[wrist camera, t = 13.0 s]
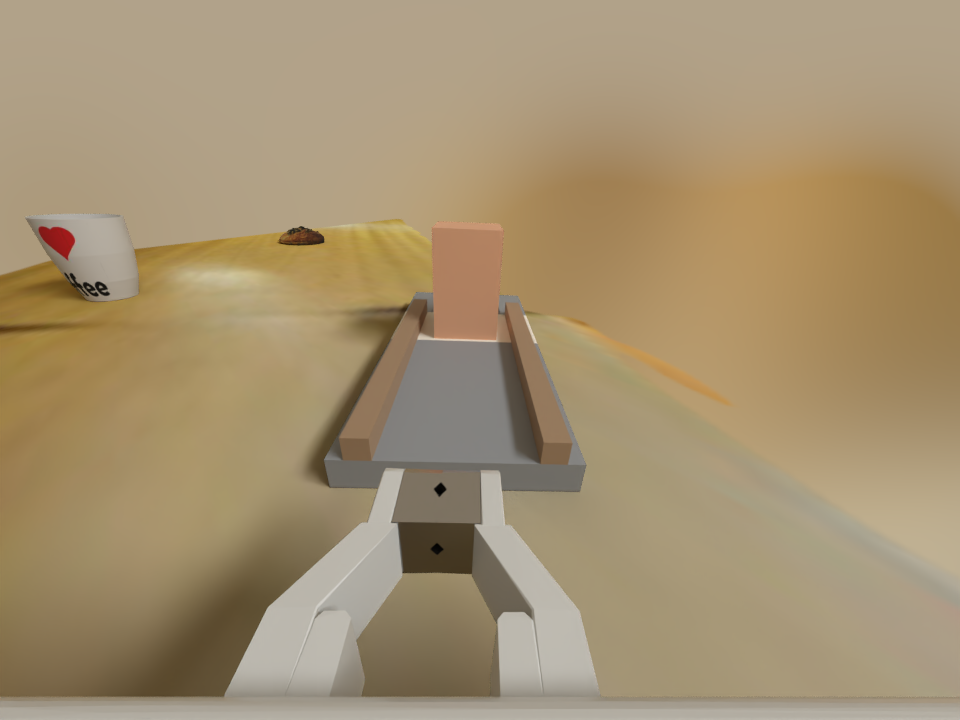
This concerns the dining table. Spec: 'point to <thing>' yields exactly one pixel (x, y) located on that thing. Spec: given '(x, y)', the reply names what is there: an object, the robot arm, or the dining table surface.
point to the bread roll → (301, 237)
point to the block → (466, 279)
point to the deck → (459, 408)
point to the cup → (90, 253)
